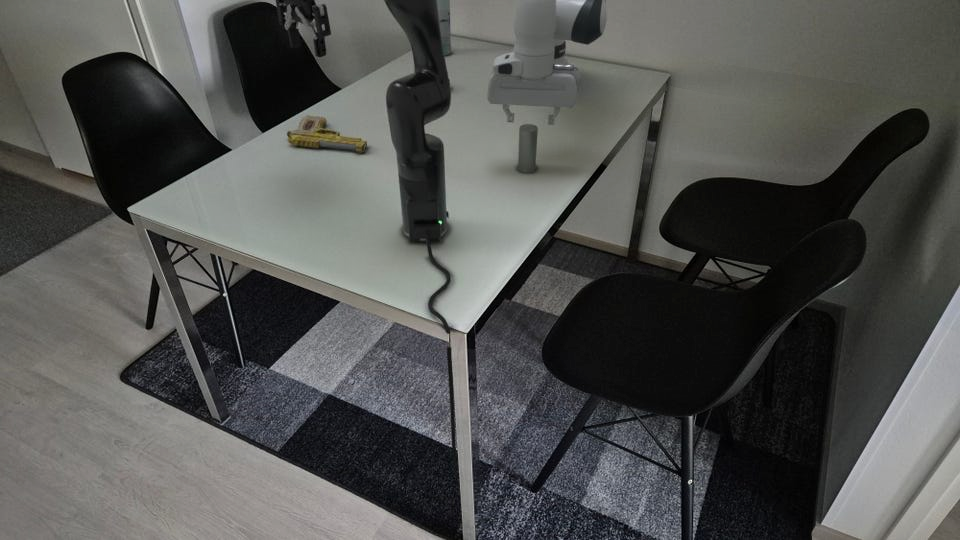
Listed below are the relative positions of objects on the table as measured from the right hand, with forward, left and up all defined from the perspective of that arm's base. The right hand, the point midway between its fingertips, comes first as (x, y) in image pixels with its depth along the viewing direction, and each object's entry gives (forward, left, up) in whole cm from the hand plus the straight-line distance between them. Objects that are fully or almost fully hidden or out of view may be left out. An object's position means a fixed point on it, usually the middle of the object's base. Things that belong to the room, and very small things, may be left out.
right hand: (530, 122), depth 146 cm
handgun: (-9, -53, -12) cm, 55 cm away
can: (0, -1, -12) cm, 12 cm away
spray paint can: (-78, -38, -12) cm, 87 cm away
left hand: (+11, -47, +18) cm, 51 cm away
